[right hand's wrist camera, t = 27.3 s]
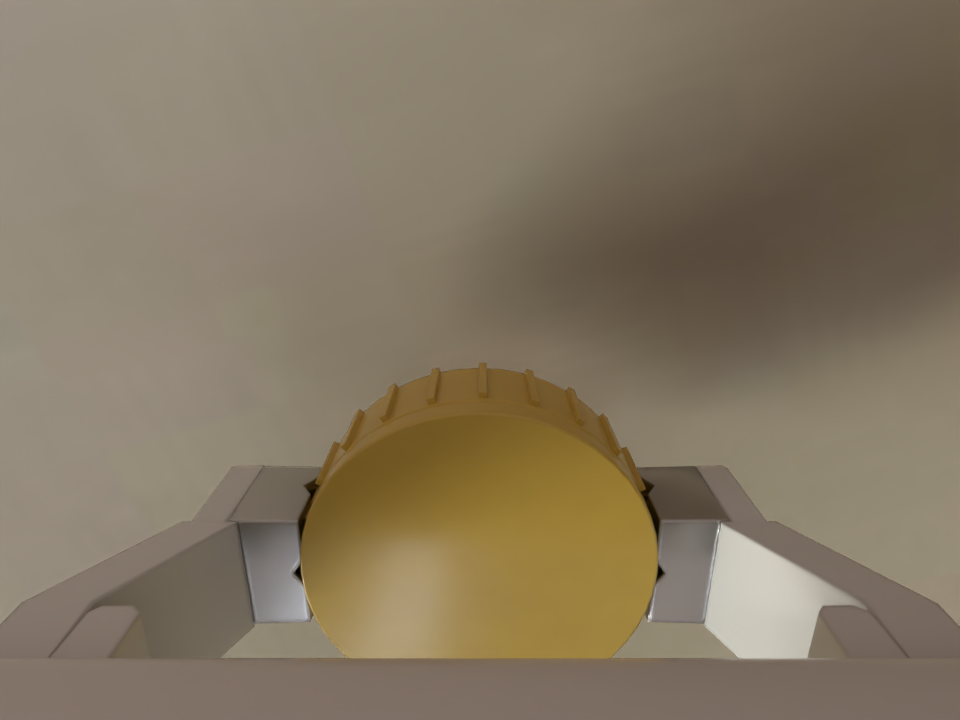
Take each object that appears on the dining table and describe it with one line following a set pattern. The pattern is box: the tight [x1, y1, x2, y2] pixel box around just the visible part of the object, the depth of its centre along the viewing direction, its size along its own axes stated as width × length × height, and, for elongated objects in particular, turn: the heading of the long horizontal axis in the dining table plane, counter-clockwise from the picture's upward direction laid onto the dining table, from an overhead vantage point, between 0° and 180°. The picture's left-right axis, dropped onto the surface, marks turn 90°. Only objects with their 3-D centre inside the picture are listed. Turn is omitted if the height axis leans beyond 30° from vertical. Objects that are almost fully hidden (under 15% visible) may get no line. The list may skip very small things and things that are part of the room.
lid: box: [300, 363, 658, 658], centre depth 9 cm, size 5×5×2 cm
